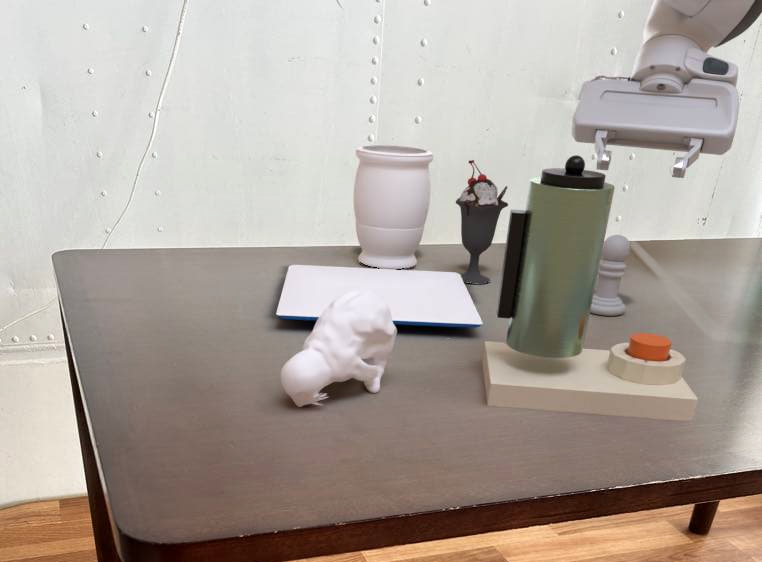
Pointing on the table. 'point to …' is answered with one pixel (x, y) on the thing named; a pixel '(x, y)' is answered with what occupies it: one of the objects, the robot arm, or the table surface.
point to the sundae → (479, 220)
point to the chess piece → (610, 277)
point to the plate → (381, 294)
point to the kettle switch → (649, 347)
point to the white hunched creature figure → (342, 347)
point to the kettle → (554, 260)
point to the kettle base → (589, 383)
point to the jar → (391, 204)
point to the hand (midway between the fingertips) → (639, 170)
